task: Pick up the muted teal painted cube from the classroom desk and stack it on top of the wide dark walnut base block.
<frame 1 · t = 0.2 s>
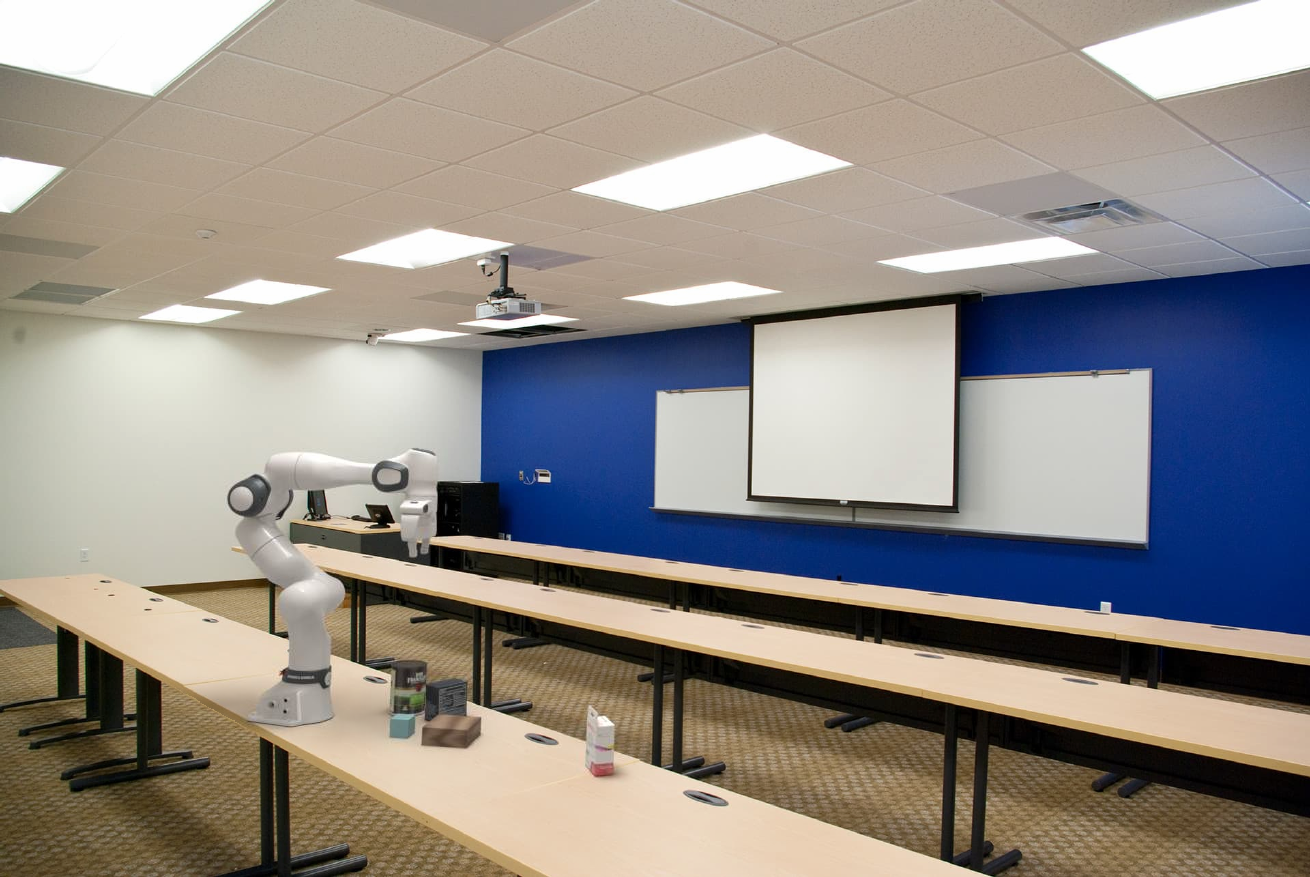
hand: (418, 555, 240), 47 cm above the table, fingers open, 8 cm apart
small box: (445, 719, 244), on the table
teal cube: (402, 735, 228), on the table
coffee can: (407, 712, 250), on the table
ink cartridge box: (599, 770, 207), on the table
walnut base block: (451, 741, 226), on the table
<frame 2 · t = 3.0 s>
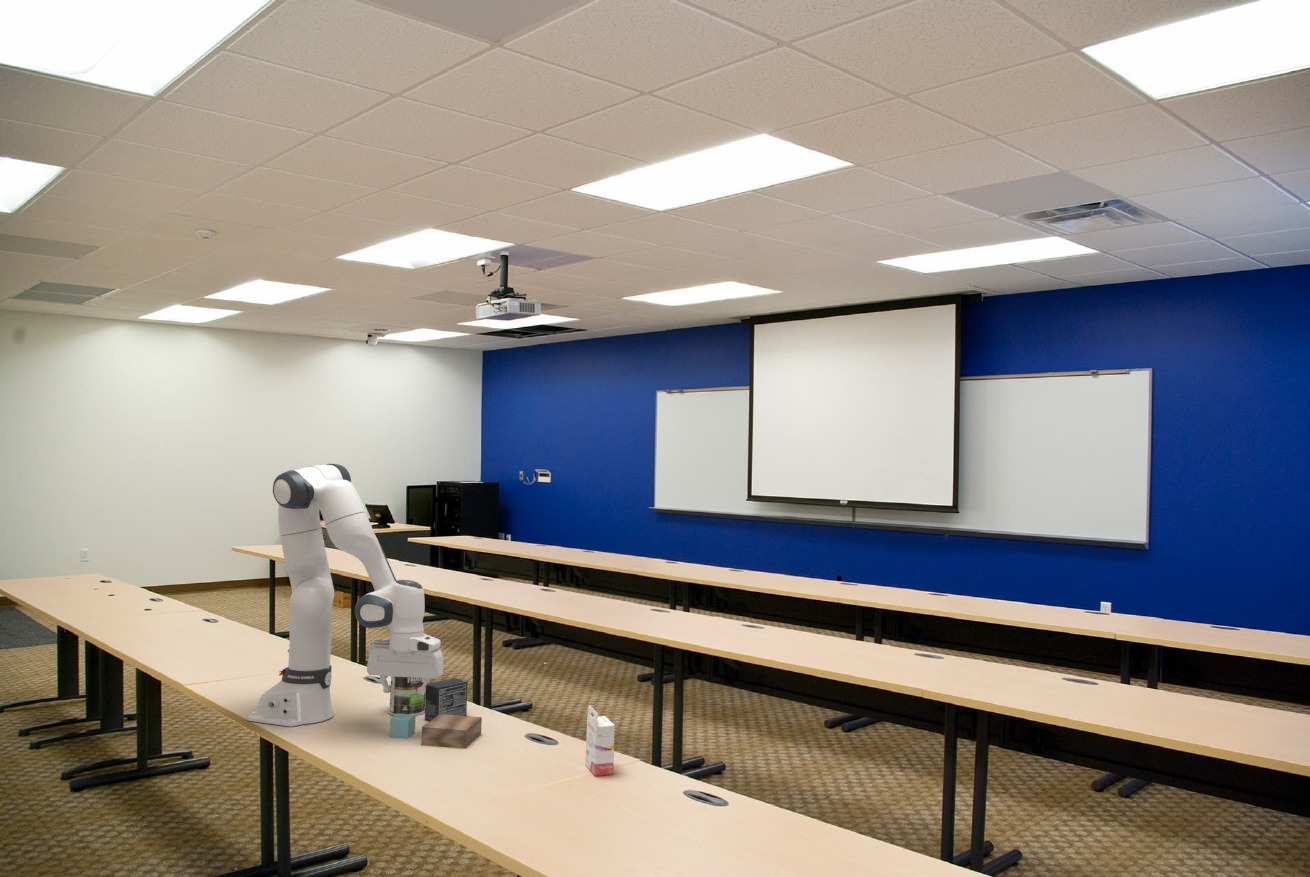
hand: (404, 693, 229), 11 cm above the table, fingers open, 8 cm apart
nothing on the table moved.
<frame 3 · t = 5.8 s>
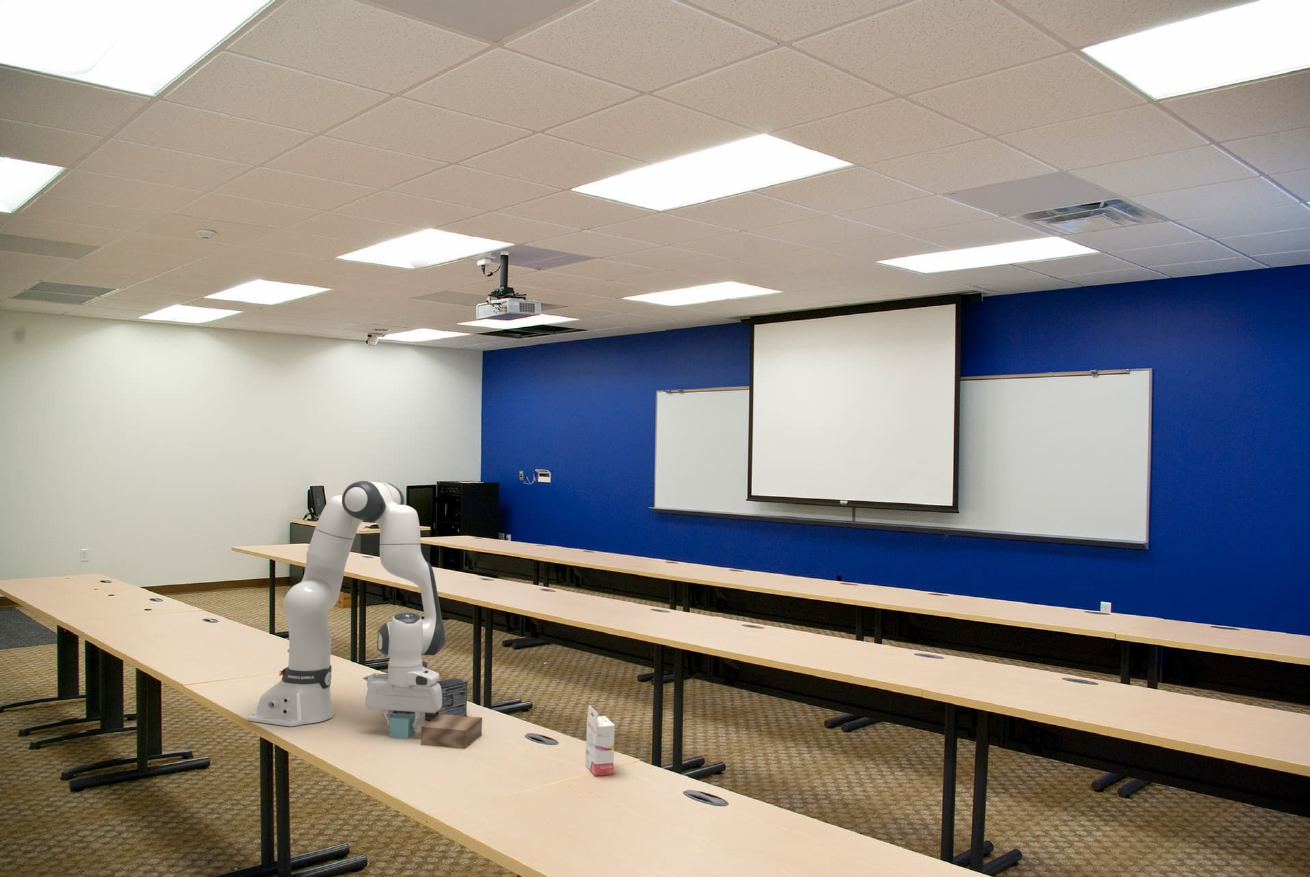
hand: (402, 727, 228), 2 cm above the table, fingers closed on teal cube, 5 cm apart
teal cube: (402, 735, 228), on the table, touching gripper
everything else where it was.
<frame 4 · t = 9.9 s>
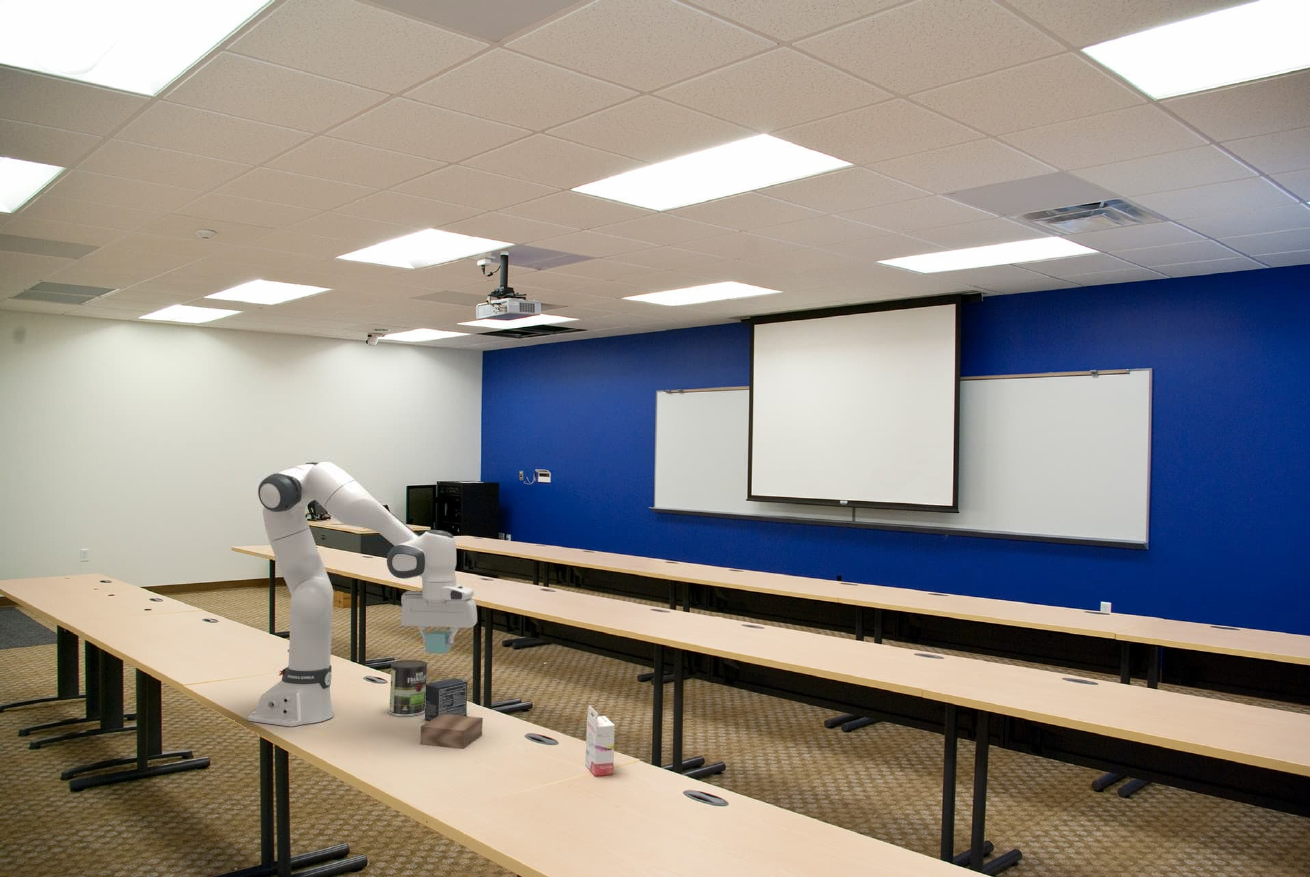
hand: (438, 643, 227), 25 cm above the table, fingers closed on teal cube, 5 cm apart
teal cube: (438, 651, 227), point 23 cm above the table, touching gripper
everything else where it was.
when the fingers open (9 cm above the table, at t = 14.2 s): teal cube drops 2 cm, resting on walnut base block.
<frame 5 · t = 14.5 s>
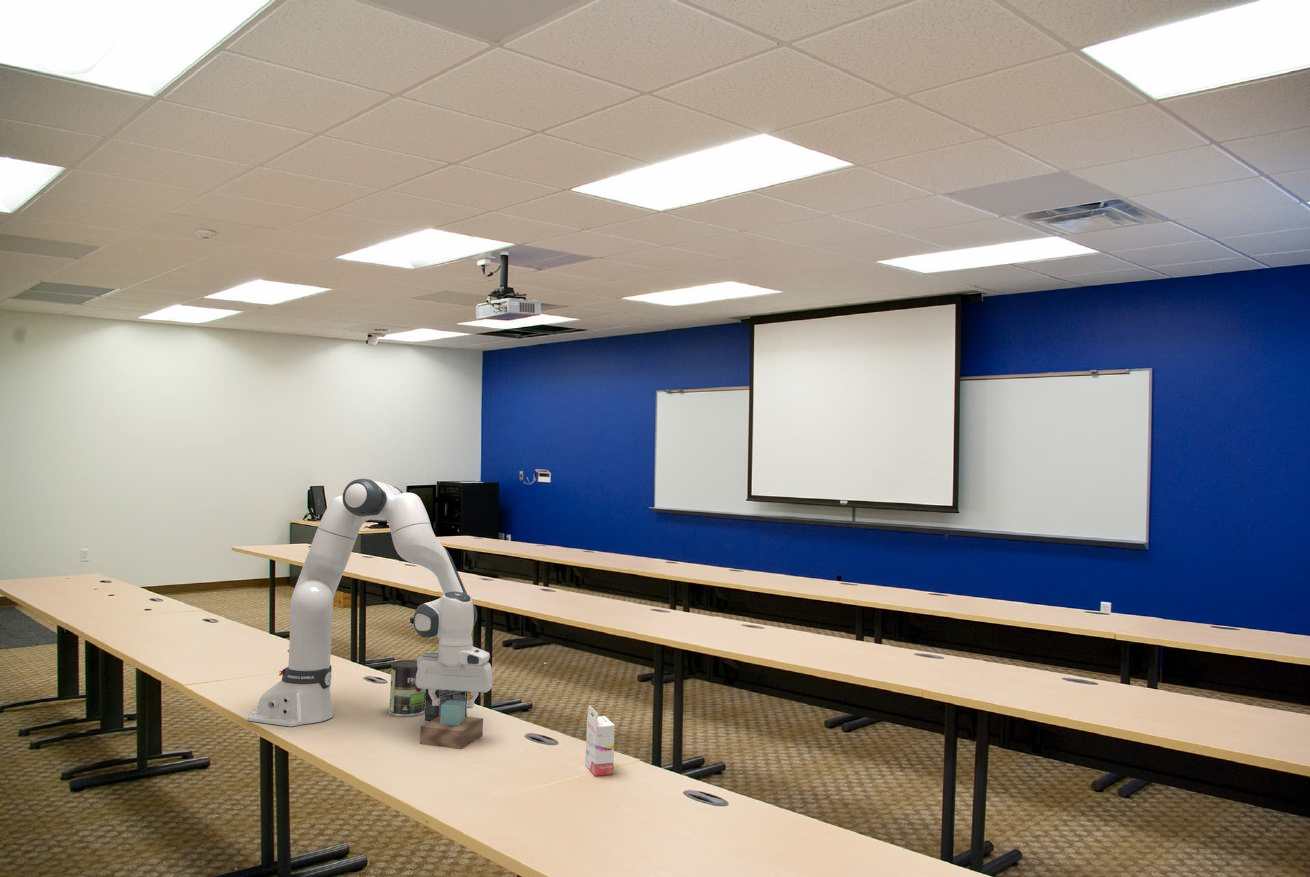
hand: (453, 706, 226), 9 cm above the table, fingers open, 8 cm apart
teal cube: (452, 722, 226), point 5 cm above the table, touching walnut base block
walnut base block: (451, 741, 226), on the table, touching teal cube
everything else where it was.
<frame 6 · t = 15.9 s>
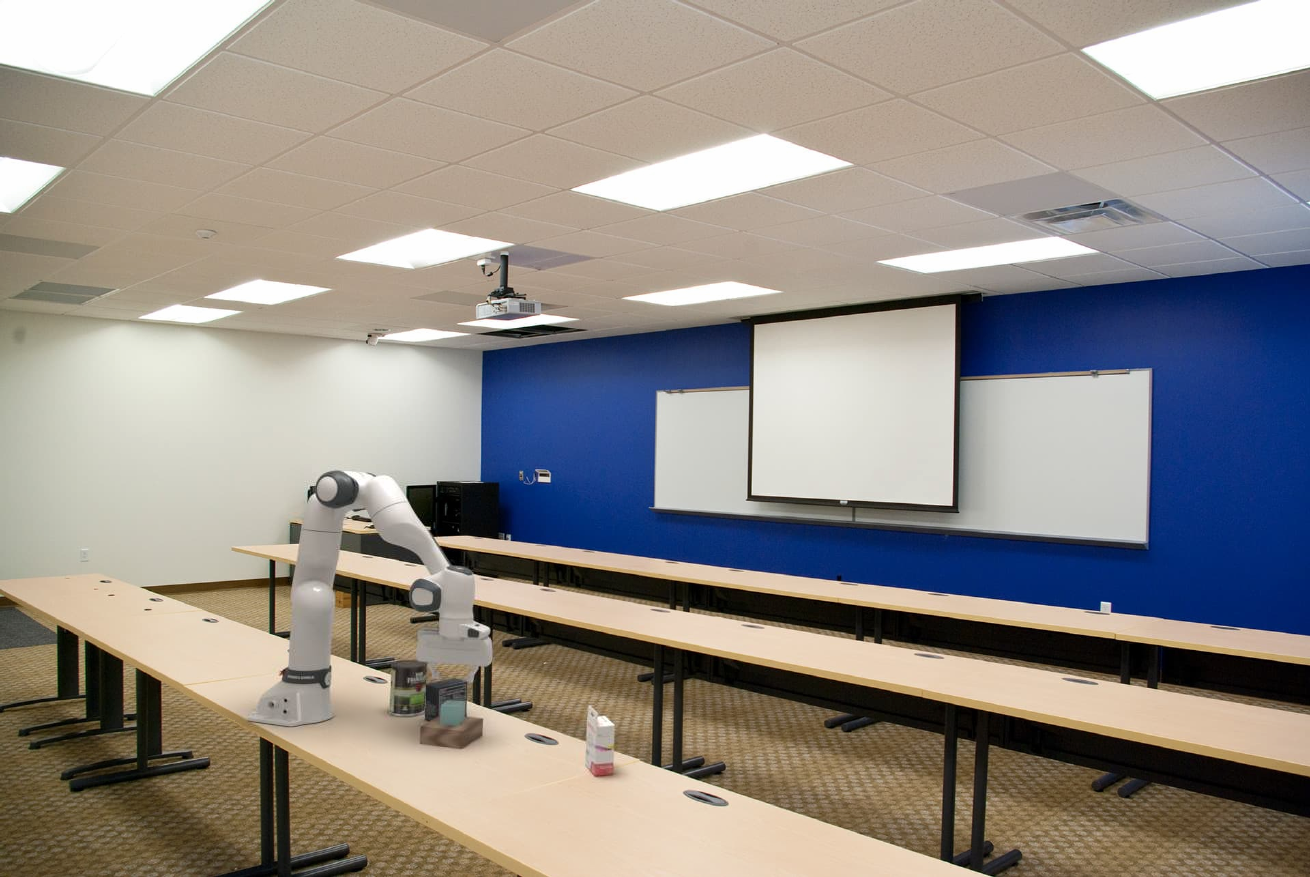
hand: (452, 680, 226), 16 cm above the table, fingers open, 8 cm apart
nothing on the table moved.
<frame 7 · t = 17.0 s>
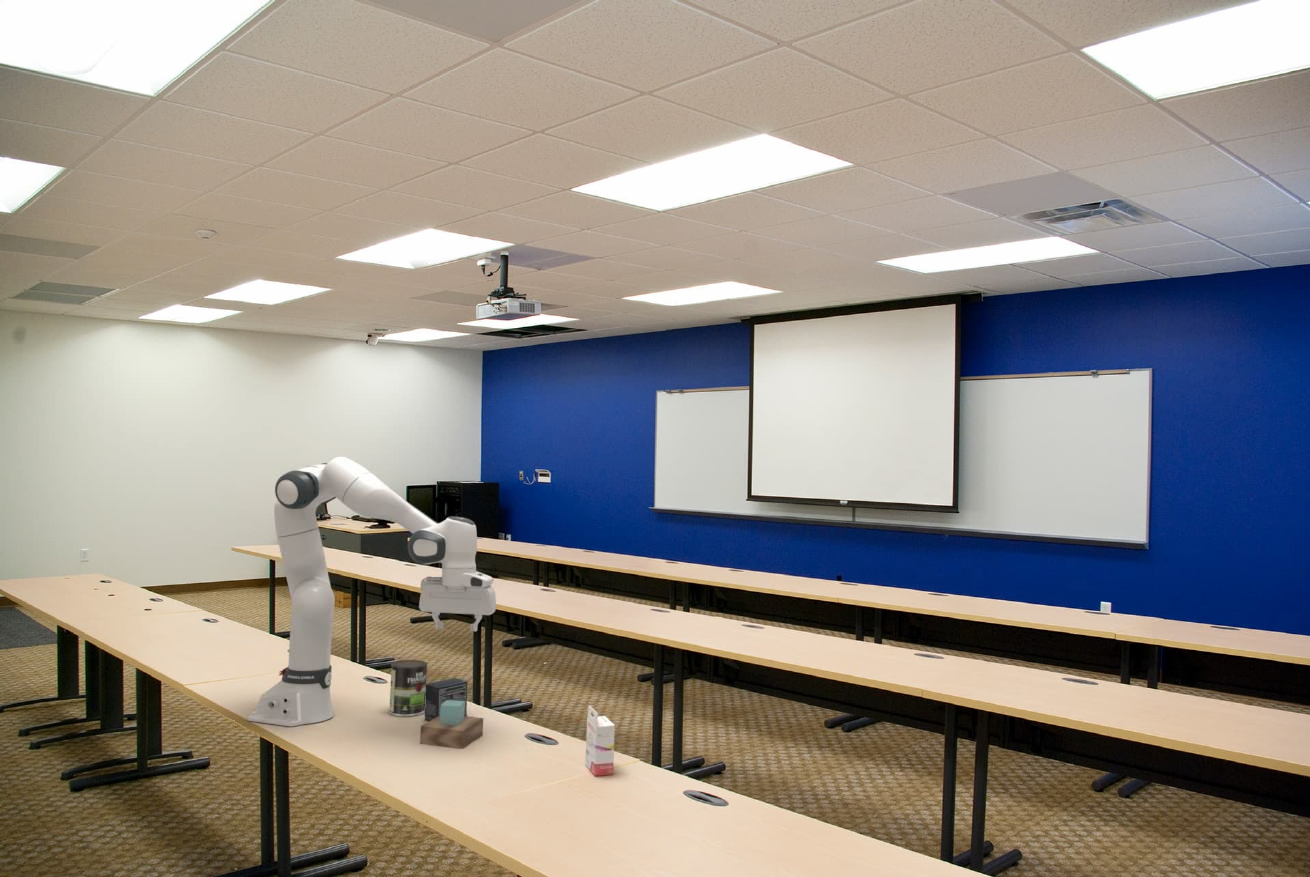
hand: (456, 630, 227), 29 cm above the table, fingers open, 8 cm apart
teal cube: (452, 722, 226), point 5 cm above the table
walnut base block: (451, 741, 226), on the table
everything else where it was.
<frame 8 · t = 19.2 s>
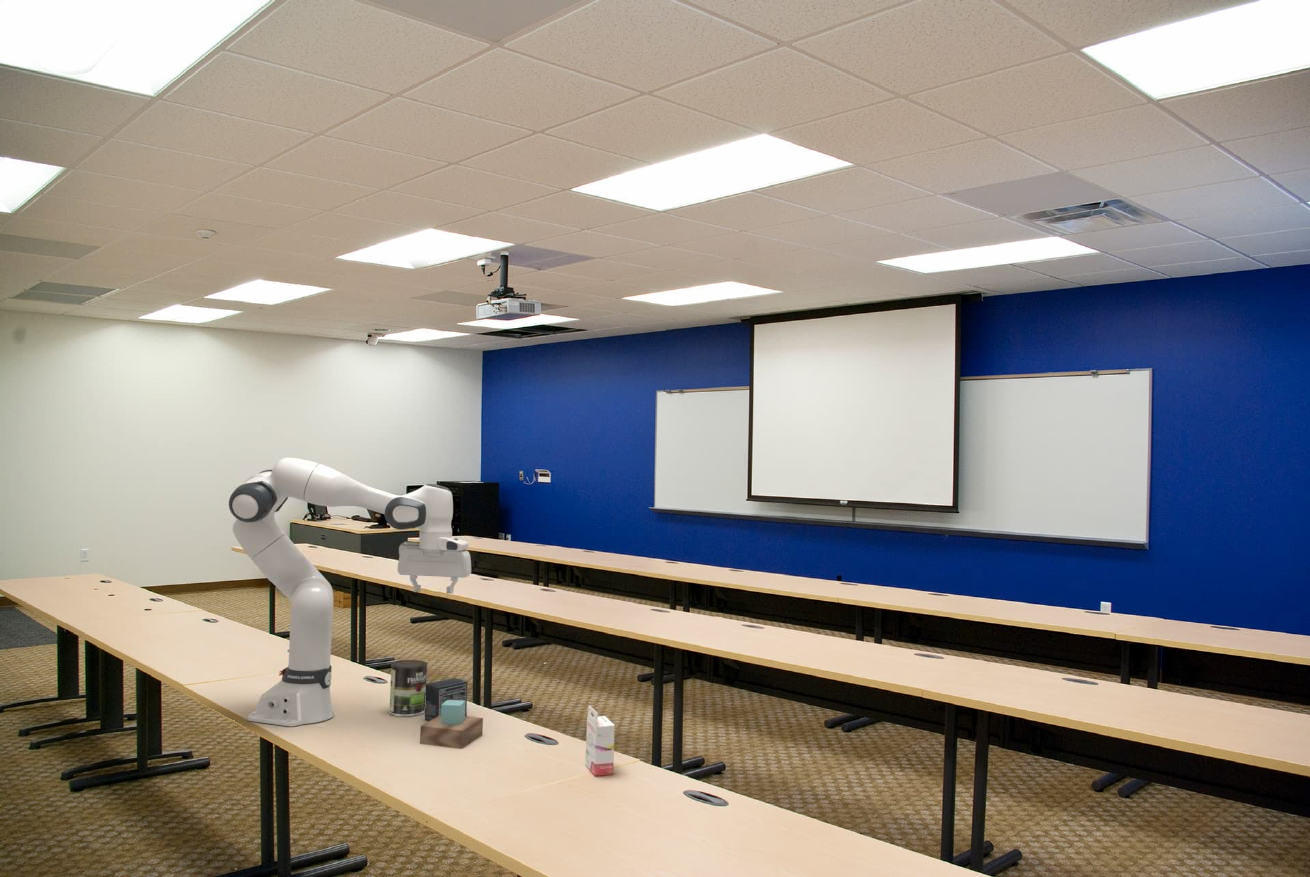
hand: (433, 592, 237), 37 cm above the table, fingers open, 8 cm apart
teal cube: (452, 721, 226), point 5 cm above the table, touching walnut base block
walnut base block: (451, 740, 226), on the table, touching teal cube
everything else where it was.
at the end: teal cube inside the target area on the walnut base block (0.1 cm from its centre), point 5.0 cm above the walnut base block's base; teal cube tilted 0°; the gripper is holding nothing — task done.
